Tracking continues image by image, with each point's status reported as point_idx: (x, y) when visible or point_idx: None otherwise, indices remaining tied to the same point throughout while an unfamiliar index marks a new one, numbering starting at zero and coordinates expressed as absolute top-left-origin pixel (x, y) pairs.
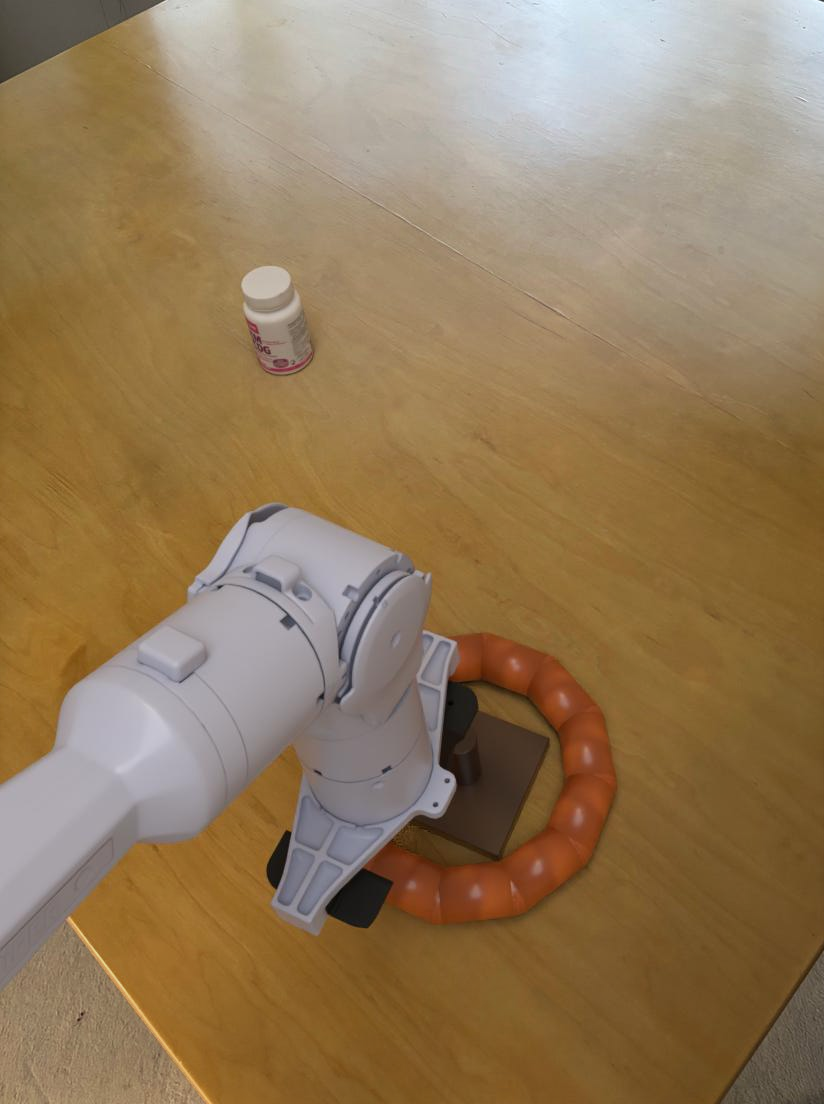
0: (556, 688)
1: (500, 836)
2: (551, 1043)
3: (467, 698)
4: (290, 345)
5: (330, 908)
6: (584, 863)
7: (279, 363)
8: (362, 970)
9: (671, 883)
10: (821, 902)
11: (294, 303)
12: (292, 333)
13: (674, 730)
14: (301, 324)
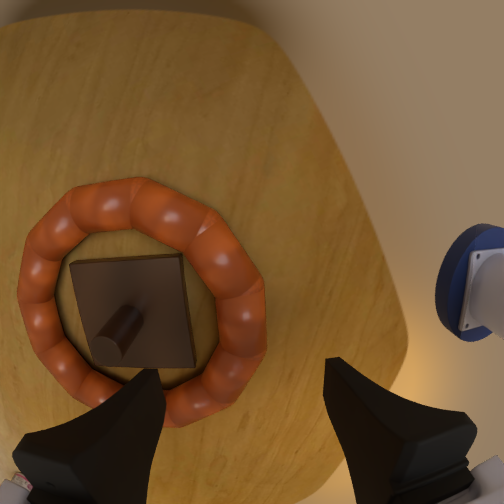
0: (29, 281)
1: (162, 263)
2: (297, 143)
3: (25, 464)
4: None
5: (461, 469)
6: (146, 178)
7: (31, 488)
8: (315, 310)
9: (129, 109)
10: (104, 19)
11: None
12: None
13: (25, 173)
14: None
